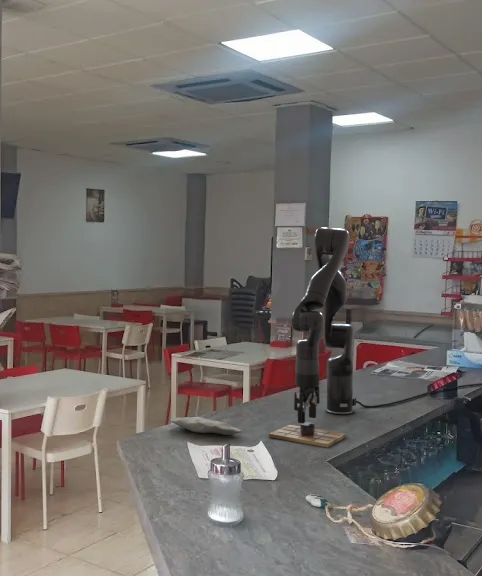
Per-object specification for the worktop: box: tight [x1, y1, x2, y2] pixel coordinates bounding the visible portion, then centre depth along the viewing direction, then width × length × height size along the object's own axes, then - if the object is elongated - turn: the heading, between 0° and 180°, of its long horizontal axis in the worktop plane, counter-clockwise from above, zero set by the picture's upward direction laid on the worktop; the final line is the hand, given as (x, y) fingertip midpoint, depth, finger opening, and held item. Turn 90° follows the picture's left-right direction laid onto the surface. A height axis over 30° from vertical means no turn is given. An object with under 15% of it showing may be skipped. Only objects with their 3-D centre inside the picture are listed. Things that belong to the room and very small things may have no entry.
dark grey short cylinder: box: [299, 421, 316, 435], centre depth 235 cm, size 5×5×3 cm
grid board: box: [268, 424, 347, 448], centre depth 235 cm, size 15×20×1 cm
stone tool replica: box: [169, 416, 243, 436], centre depth 241 cm, size 15×5×25 cm
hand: (307, 420), depth 235 cm, fingers open, 8 cm apart
